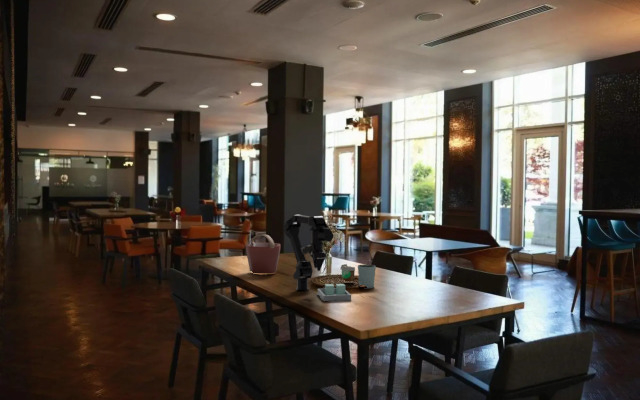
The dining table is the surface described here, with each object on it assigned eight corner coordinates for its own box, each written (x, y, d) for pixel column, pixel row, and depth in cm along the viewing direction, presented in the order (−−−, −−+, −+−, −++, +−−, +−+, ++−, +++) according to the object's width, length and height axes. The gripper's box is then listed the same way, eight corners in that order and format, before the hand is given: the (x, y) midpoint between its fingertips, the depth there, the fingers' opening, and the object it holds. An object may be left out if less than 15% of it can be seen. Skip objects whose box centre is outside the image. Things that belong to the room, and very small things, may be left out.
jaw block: (324, 296, 262) (324, 284, 262) (332, 295, 263) (332, 284, 262) (326, 297, 258) (326, 285, 258) (334, 297, 259) (334, 285, 258)
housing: (317, 294, 268) (317, 282, 267) (343, 293, 270) (343, 281, 270) (323, 302, 251) (323, 288, 251) (351, 300, 253) (351, 287, 253)
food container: (337, 281, 304) (337, 264, 304) (346, 280, 306) (346, 264, 306) (345, 285, 293) (345, 267, 292) (355, 284, 295) (355, 267, 295)
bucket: (242, 271, 339) (242, 233, 338) (274, 268, 348) (274, 232, 347) (252, 277, 316) (252, 237, 316) (286, 274, 325) (286, 235, 324)
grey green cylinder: (354, 287, 286) (354, 266, 286) (361, 284, 295) (362, 263, 295) (371, 289, 282) (371, 267, 281) (378, 286, 291) (378, 265, 290)
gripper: (299, 238, 276) (299, 267, 276) (304, 242, 258) (304, 272, 258) (319, 238, 278) (319, 266, 278) (326, 241, 260) (326, 272, 260)
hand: (317, 269), depth 269 cm, fingers open, 9 cm apart
